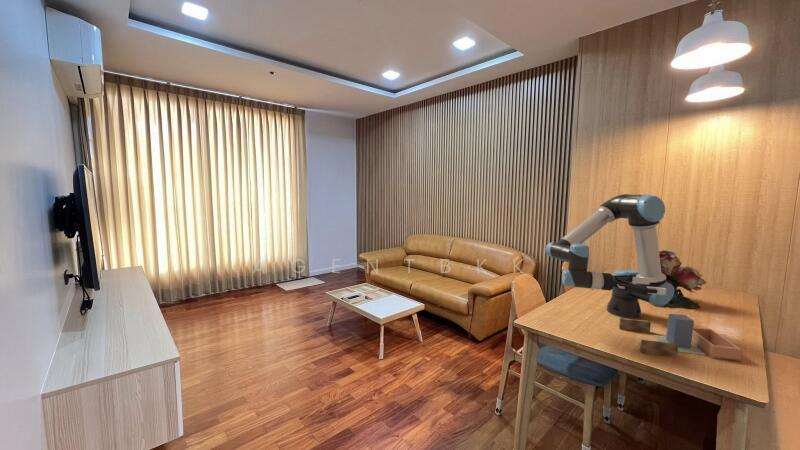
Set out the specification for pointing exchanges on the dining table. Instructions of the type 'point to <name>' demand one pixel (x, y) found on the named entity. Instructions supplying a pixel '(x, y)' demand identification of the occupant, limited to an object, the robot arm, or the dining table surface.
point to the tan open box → (715, 345)
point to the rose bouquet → (679, 280)
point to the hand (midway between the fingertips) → (657, 286)
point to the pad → (684, 350)
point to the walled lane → (646, 345)
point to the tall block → (680, 330)
